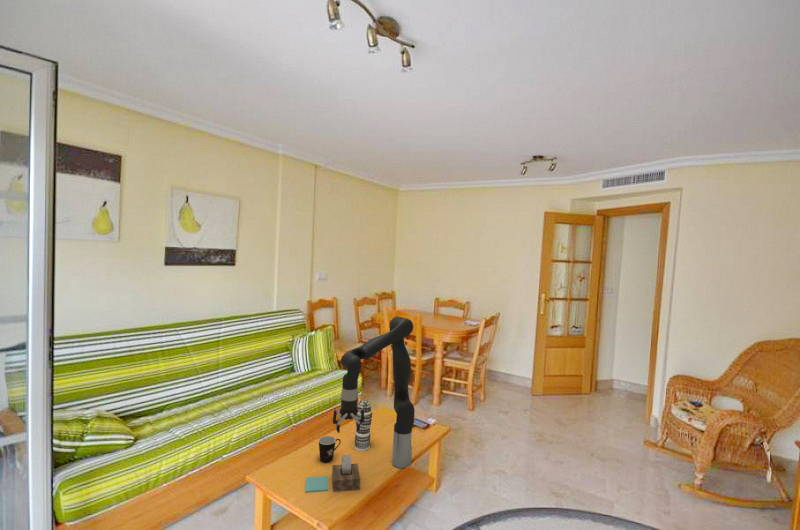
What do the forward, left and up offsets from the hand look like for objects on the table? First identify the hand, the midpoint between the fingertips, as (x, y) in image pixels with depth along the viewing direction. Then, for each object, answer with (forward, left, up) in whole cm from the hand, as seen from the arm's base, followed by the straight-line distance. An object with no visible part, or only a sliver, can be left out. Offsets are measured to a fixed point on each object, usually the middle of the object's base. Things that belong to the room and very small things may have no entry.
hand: (347, 431), depth 170 cm
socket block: (0, 0, -24) cm, 24 cm away
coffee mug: (+7, -20, -24) cm, 32 cm away
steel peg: (0, 0, -24) cm, 24 cm away
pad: (+13, 0, -24) cm, 27 cm away
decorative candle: (-11, -30, -24) cm, 40 cm away
